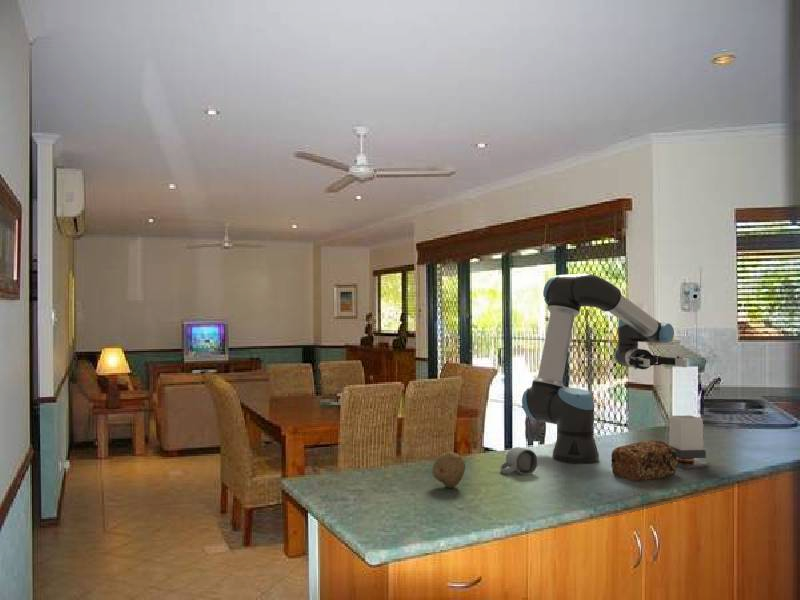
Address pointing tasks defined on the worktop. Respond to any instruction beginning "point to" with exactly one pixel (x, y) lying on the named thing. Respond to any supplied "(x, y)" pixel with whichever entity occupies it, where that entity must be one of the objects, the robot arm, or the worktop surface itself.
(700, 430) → the sleeve
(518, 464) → the ceramic mug
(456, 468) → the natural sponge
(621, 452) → the bread
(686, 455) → the dark grey square slab
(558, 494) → the worktop surface
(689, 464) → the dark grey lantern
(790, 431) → the worktop surface
